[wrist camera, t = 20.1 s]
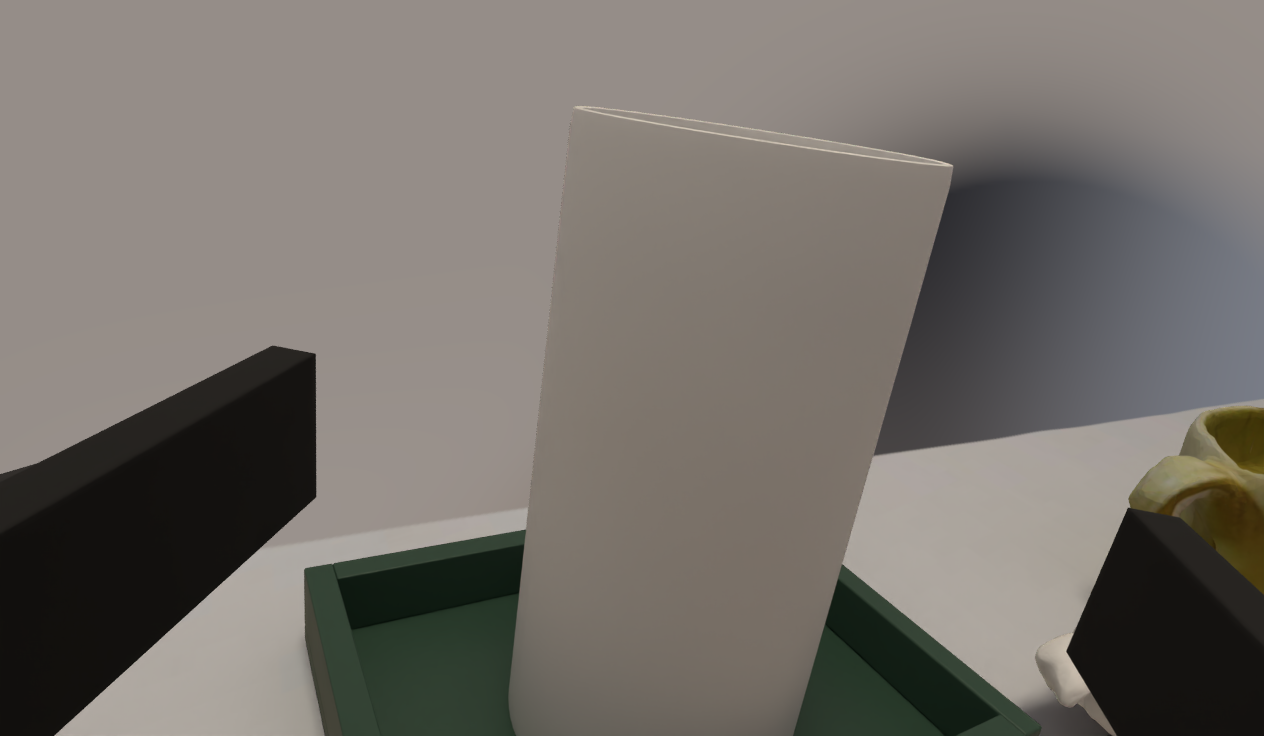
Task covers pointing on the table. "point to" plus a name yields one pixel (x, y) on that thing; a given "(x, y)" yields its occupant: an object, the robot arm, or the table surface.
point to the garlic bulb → (1067, 679)
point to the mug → (1216, 486)
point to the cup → (707, 417)
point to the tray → (484, 638)
